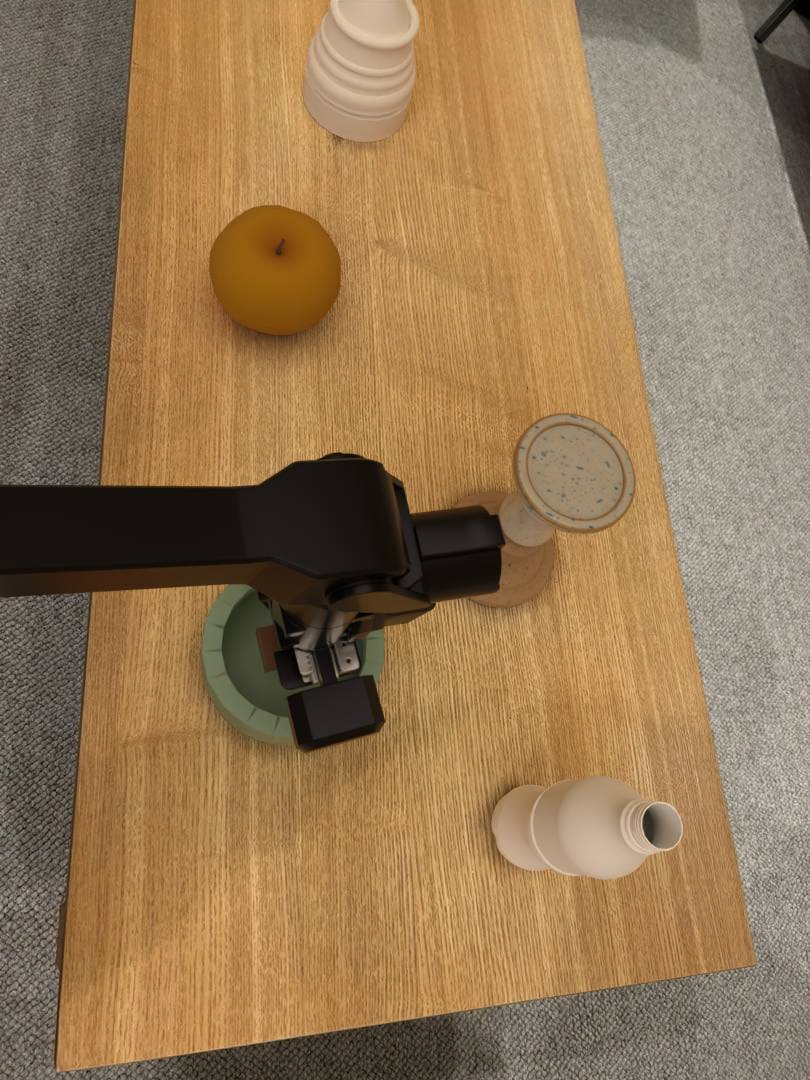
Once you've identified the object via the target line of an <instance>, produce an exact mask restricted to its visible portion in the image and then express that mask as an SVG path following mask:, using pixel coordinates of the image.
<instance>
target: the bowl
mask: <svg viewBox="0 0 810 1080" xmlns="http://www.w3.org/2000/svg"><path fill="white" fill-rule="evenodd" d="M268 625H273V621H272V617H271V613H270V610H269V609H268V608H267V607H266V606H265V605H264V604H263V603H262V602H261V601H259V600H258V596H257V590H255V589H253V588H252V587H250V586H248V585H246V584H232V585H227V586H226V587H225V588H224V589H223V590H222V591H220V593H219V594H218V595H217V596H216V598H215V600H214V601H213V604H212V606H211V608H210V610H209V612H208V614H207V617H206V619H205V621H204V625H203V634H202V642H201V651H200V655H201V669H202V673H203V674H202V675H203V680H204V683H205V689H206V693H207V694H208V697H209V698H210V700H211V702H212V703H213V705H214V707H215V708H216V710H217V711H218V713H219V714H220V716H221V717H222V718H223V719H224V720H225V721H226V722H227V723H228V724H229V725H230V726H231V727H233V728H234V729H235V730H237V731H238V732H239V733H241V734H243V735H245V736H247V737H249V738H251V739H253V740H256V741H260V742H262V743H265V744H269V745H276V746H295V744H294V740H293V735H292V731H291V727H290V723H289V719H288V714H287V709H286V701H285V698H286V697H287V696H289V695H292V694H295V693H297V692H300V691H304V690H307V689H311V688H315V687H319V686H320V683H319V684H315V685H311V686H307V687H303V688H299V689H295V690H291V691H289V690H286V689H284V688H283V687H282V686H281V683H280V679H279V675H278V671H277V670H275V671H271V672H267V673H265V672H264V667H263V663H262V659H261V655H260V650H259V646H258V642H257V638H256V633H255V632H256V628H260V627H264V626H268ZM355 642H356V645H357V649H358V653H359V657H360V660H361V669H360V671H359V672H357V673H355V674H353V675H350V676H347V677H343V678H339V679H337V680H338V682H339V681H343V680H347V679H351V678H355V677H359V676H363V675H373V677H374V681H375V684H376V685H377V684H378V681H379V679H380V677H381V673H382V670H383V668H384V665H385V634H384V630H383V629H381V630H377V631H373V632H370V633H369V634H368V636H367V637H366V638H365V639H361V640H356V641H355ZM305 677H306V676H305Z"/></svg>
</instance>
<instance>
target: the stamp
mask: <svg viewBox="0 0 810 1080" xmlns="http://www.w3.org/2000/svg"><path fill="white" fill-rule="evenodd" d="M255 633H256V638H257V642H258V646H259V650H260V655H261V659H262V663H263V667H264V672H265V673H267V672H271V671H275V670H277V667H276V663H275V658H274V654H273V653H274V652H277V651H280V650H279V646H278V642H277V637H276V633H275V629H274V625H268V626H264V627H260V628H256V632H255Z"/></svg>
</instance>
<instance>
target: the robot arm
mask: <svg viewBox="0 0 810 1080" xmlns="http://www.w3.org/2000/svg"><path fill="white" fill-rule="evenodd" d="M404 484H405V483H404V481H402V480H401V479H399V478H398V477H396V476H395V475H393V474H391V473H390V472H388V470H386V469H385V465H384V463H382V462H381V461H378V460H375V459H371V458H367V457H365V456H363V455H361V454H358V453H350V452H341V451H337V452H330V453H327V454H324V455H323V456H322V457H319V458H317V459H307V460H295V461H293V462H291V463H290V464H288V465H287V466H285V467H283V468H282V469H280V470H278V471H277V472H275V473H274V474H273V475H271V476H269V477H268V478H266V479H265V480H263V481H262V482H260V483H259V484H250V485H249V484H248V485H219V486H218V485H128V484H127V485H125V484H123V485H121V484H119V485H118V484H117V485H116V484H114V485H112V484H110V485H109V484H101V485H100V484H0V599H7V598H21V597H23V598H24V597H36V596H39V597H40V596H54V595H55V596H56V595H72V594H87V593H106V592H121V591H122V592H123V591H141V590H155V589H172V588H175V589H176V588H189V587H204V586H208V587H209V586H222V585H223V586H224V585H227V586H228V585H232V584H246V585H248V586H250V587H252V588H253V589H255V590H257V596H258V600H259V601H261V602H262V603H263V604H264V605H265V606H266V607H267V608H268V609H269V610H270V613H271V617H272V621H273V625H274V629H275V633H276V637H277V642H278V646H279V650H280V651H277V652H274V653H273V654H274V658H275V663H276V667H277V671H278V675H279V679H280V683H281V686H282V687H283V688H284V689H286V690H289V691H291V690H295V689H299V688H303V687H307V686H311V685H315V684H319V683H320V686H319V687H315V688H311V689H307V690H304V691H300V692H297V693H295V694H292V695H289V696H287V697H286V698H285V701H286V709H287V714H288V719H289V723H290V727H291V731H292V735H293V740H294V744H295V745H294V747H295V749H296V750H298V751H300V752H302V753H304V754H305V755H307V754H309V753H314V752H317V751H320V750H325V749H329V748H331V747H332V748H333V747H335V746H340V745H342V744H346V743H349V742H354V741H357V740H360V739H364V738H367V737H372V736H375V735H377V734H379V733H380V732H381V731H382V728H383V727H384V725H385V723H386V718H385V715H384V711H383V706H382V703H381V700H380V699H381V698H380V696H379V692H378V689H377V684H375V681H374V677H373V675H363V676H359V677H355V678H351V679H347V680H343V681H339V682H338V680H337V679H339V678H343V677H347V676H350V675H353V674H355V673H357V672H359V671H360V669H361V660H360V657H359V653H358V649H357V645H356V642H355V641H356V640H361V639H365V638H366V637H367V636H368V634H369V633H370V632H373V631H377V630H381V629H382V630H383V629H384V628H385V627H391V626H398V625H406V624H409V623H411V622H413V621H415V620H416V619H418V618H420V617H422V616H423V615H425V614H427V613H429V612H431V611H433V610H434V609H435V608H436V605H437V603H442V602H450V601H454V600H460V599H466V598H467V599H469V598H468V597H474V596H480V595H487V594H493V593H496V592H497V591H498V590H499V589H500V584H499V583H500V578H501V569H502V557H501V549H502V548H503V547H504V546H505V545H506V541H505V537H504V533H503V529H502V525H501V522H500V518H499V515H497V514H495V515H490V514H489V512H488V511H487V510H486V509H485V508H484V507H483V506H481V505H475V506H467V507H459V508H452V507H451V508H444V509H436V510H427V511H420V512H419V511H418V512H413V513H412V512H411V511H410V506H409V502H408V498H407V493H406V488H405V485H404ZM305 676H306V677H305Z"/></svg>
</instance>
